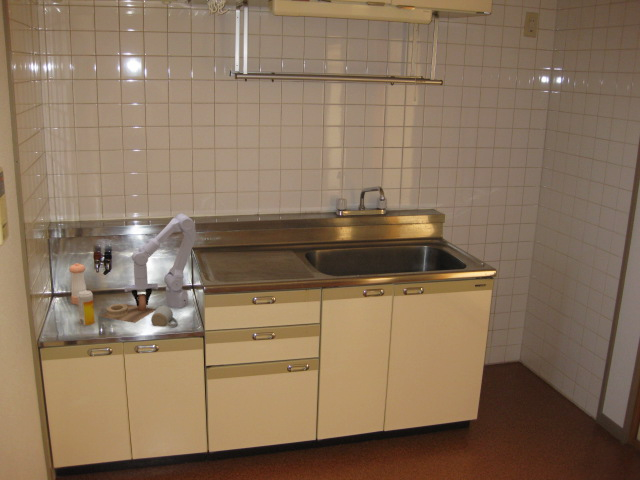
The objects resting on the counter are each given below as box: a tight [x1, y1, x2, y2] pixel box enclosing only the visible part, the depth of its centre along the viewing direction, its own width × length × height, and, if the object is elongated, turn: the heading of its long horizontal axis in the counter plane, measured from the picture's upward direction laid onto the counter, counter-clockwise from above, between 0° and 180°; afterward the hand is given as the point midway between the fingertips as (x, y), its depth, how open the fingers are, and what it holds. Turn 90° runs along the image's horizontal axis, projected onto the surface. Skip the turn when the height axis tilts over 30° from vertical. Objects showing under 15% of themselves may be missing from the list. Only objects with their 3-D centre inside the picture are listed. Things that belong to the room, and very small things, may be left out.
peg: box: [138, 293, 148, 311], centre depth 300 cm, size 4×4×7 cm
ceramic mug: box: [150, 305, 179, 328], centre depth 287 cm, size 11×8×8 cm
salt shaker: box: [68, 262, 87, 306], centre depth 309 cm, size 7×7×19 cm
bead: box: [105, 303, 128, 318], centre depth 295 cm, size 9×9×3 cm
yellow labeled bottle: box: [77, 289, 96, 326], centre depth 284 cm, size 6×6×15 cm
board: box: [98, 303, 157, 324], centre depth 297 cm, size 19×17×1 cm
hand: (142, 304), depth 301 cm, fingers closed on peg, 4 cm apart
